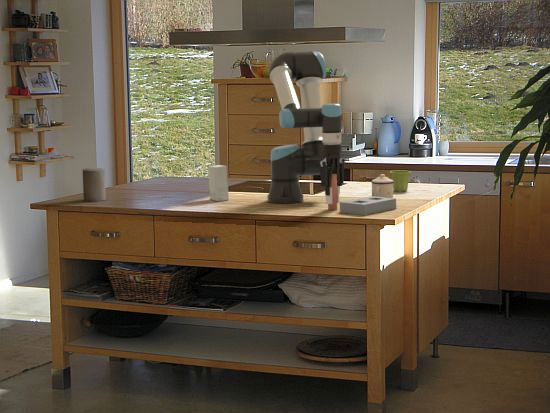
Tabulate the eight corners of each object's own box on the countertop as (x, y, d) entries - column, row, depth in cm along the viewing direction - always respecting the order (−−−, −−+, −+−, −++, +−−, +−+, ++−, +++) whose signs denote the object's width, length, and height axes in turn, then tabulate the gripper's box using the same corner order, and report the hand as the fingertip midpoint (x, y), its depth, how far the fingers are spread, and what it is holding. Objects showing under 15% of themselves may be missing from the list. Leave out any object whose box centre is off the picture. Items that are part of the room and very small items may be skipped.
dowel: (326, 209, 374) (325, 174, 371) (332, 208, 376) (331, 173, 374) (333, 210, 371) (332, 174, 369) (339, 209, 374) (338, 173, 372)
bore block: (339, 212, 366) (339, 202, 365) (371, 206, 380) (371, 196, 380) (364, 215, 358) (364, 204, 357) (396, 208, 372) (396, 198, 371)
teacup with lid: (375, 200, 395) (375, 172, 394) (396, 201, 392) (396, 173, 390) (366, 204, 384) (366, 176, 383) (387, 205, 381) (387, 176, 379)
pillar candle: (79, 201, 412) (77, 166, 410) (91, 198, 421) (90, 164, 419) (98, 202, 409) (97, 167, 406) (110, 199, 418) (109, 165, 415)
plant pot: (410, 189, 428) (410, 170, 427) (411, 192, 419) (411, 172, 418) (389, 189, 429) (389, 170, 428) (390, 192, 420) (390, 172, 418)
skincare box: (229, 200, 404) (228, 165, 402) (215, 201, 402) (214, 166, 400) (221, 198, 412) (220, 164, 410) (208, 199, 409) (207, 165, 407)
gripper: (325, 145, 361) (326, 206, 365) (352, 142, 373) (353, 201, 377) (310, 144, 366) (311, 204, 370) (338, 141, 378) (338, 199, 382)
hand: (332, 202), depth 373 cm, fingers closed on dowel, 3 cm apart
